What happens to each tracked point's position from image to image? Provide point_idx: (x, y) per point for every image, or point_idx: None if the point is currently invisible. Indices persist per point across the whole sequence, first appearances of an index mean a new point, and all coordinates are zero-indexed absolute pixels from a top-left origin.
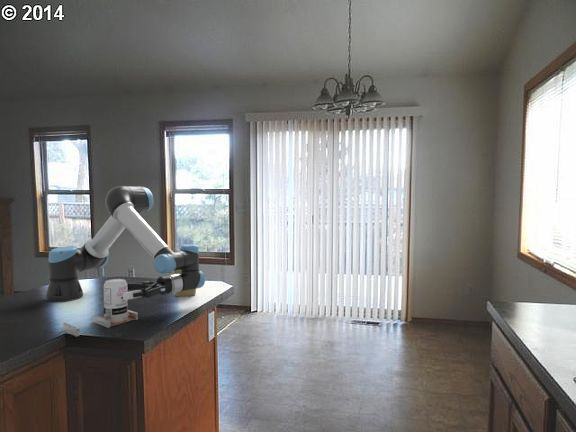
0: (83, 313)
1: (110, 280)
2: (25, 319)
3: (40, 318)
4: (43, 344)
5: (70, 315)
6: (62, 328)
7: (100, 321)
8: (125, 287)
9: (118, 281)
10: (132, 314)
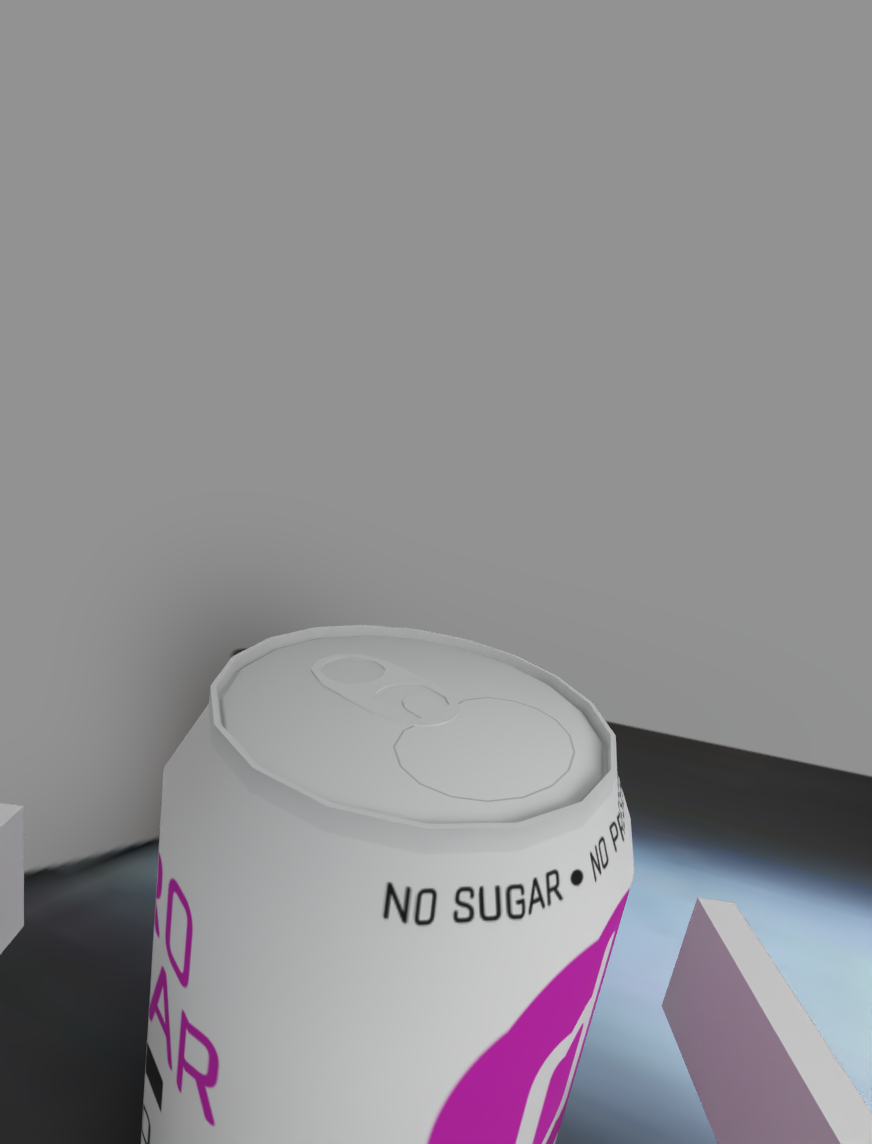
0: (857, 1079)
1: (546, 701)
2: (752, 792)
3: (754, 831)
4: None
5: (795, 966)
6: None
7: None
8: (163, 889)
9: (346, 713)
10: None
